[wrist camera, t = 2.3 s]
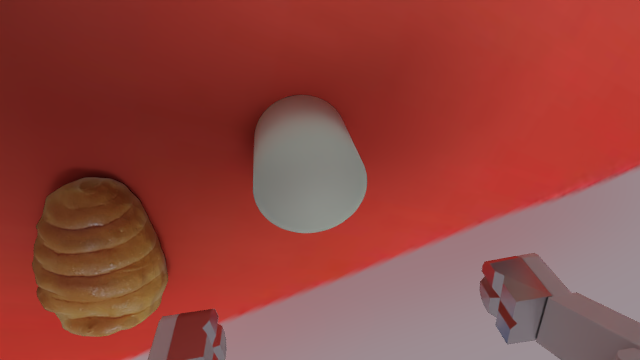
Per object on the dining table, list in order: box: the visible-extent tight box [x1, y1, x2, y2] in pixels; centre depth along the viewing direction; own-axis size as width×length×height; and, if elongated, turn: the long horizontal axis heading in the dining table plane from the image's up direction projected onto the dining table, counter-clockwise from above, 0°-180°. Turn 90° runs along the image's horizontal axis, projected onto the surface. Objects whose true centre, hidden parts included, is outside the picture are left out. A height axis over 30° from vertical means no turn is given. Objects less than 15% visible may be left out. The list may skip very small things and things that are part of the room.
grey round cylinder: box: [253, 95, 367, 233], centre depth 19 cm, size 5×5×5 cm
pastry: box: [32, 177, 168, 336], centre depth 21 cm, size 9×7×4 cm
